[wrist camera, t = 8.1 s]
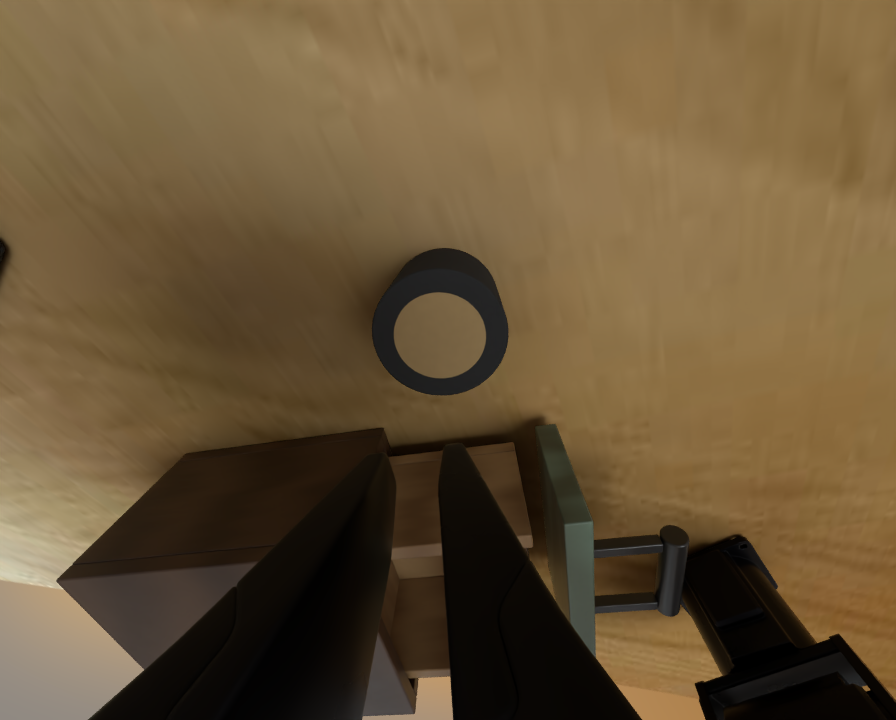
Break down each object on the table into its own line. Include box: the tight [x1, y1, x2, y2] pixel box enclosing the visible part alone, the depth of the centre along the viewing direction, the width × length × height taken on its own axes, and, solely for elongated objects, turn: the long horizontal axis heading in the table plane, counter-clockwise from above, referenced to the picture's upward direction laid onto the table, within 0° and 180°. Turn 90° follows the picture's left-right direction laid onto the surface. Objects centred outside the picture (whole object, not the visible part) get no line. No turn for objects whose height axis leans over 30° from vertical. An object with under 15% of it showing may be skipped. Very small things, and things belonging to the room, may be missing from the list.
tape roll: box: [372, 248, 508, 395], centre depth 17 cm, size 6×6×5 cm
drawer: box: [381, 424, 689, 678], centre depth 21 cm, size 17×12×7 cm
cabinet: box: [56, 428, 418, 716], centre depth 22 cm, size 14×14×9 cm
